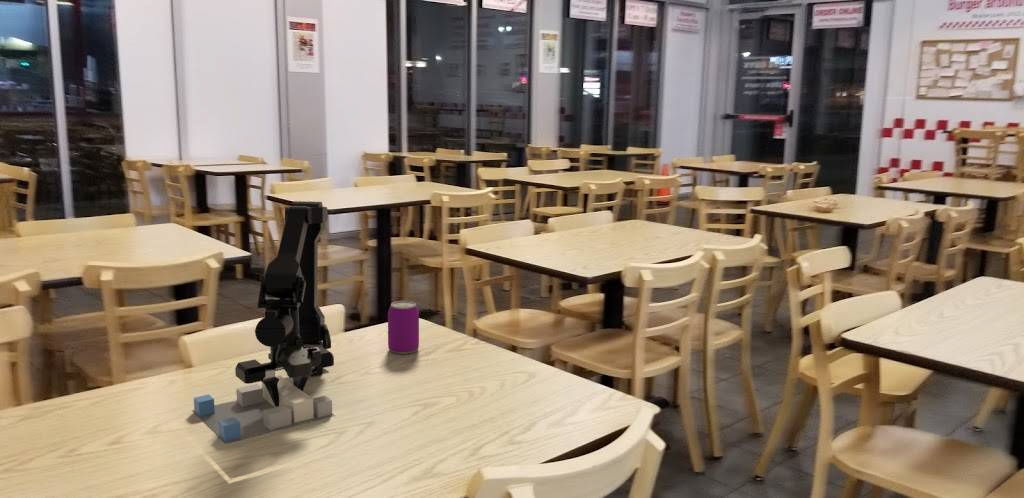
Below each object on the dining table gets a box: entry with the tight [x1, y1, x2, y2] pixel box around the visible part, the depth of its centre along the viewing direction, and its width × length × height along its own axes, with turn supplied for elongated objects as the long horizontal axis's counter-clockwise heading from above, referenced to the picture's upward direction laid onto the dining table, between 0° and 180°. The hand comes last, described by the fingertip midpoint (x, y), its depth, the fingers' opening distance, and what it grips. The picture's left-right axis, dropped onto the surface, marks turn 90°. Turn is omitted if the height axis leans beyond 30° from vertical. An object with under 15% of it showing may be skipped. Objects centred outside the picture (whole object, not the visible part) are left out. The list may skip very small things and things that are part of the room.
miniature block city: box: [191, 376, 336, 445], centre depth 163 cm, size 19×22×4 cm
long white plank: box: [261, 374, 314, 423], centre depth 166 cm, size 16×4×4 cm, turn 39°
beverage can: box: [387, 300, 420, 355], centre depth 204 cm, size 8×8×12 cm
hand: (287, 404), depth 167 cm, fingers closed on long white plank, 4 cm apart
